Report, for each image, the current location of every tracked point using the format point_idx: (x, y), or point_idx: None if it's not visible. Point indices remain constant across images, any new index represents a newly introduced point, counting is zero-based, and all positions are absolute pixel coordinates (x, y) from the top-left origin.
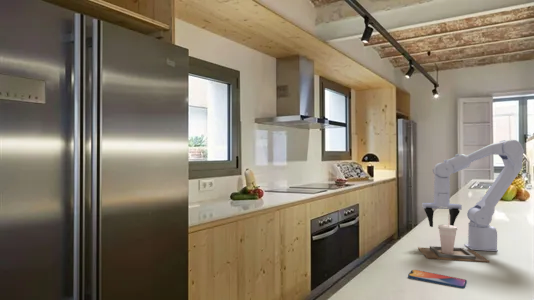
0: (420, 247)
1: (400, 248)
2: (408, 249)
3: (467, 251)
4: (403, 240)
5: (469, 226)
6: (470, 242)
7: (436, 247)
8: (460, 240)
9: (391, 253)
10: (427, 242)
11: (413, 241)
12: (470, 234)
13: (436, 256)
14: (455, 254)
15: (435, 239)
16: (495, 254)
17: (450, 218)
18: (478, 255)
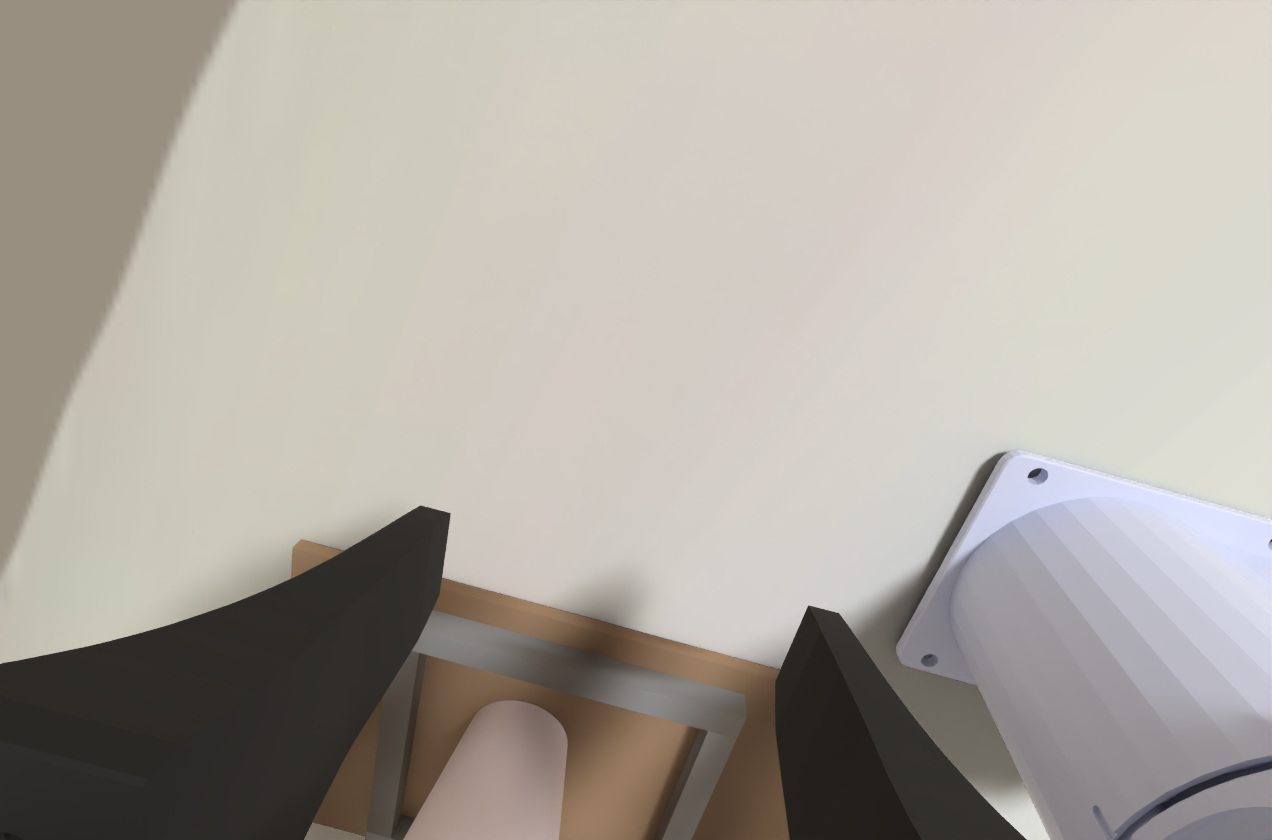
0: (319, 556)
1: (114, 515)
2: (192, 556)
3: (688, 819)
4: (218, 107)
5: (1093, 826)
6: (970, 642)
7: (456, 657)
8: (1258, 122)
9: (14, 655)
10: (551, 253)
11: (358, 181)
12: (1017, 730)
13: (362, 808)
14: (565, 787)
15: (815, 29)
16: (1023, 784)
17: (845, 775)
18: (768, 832)
